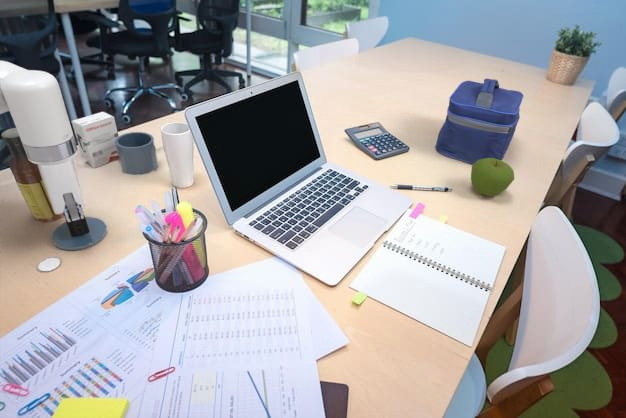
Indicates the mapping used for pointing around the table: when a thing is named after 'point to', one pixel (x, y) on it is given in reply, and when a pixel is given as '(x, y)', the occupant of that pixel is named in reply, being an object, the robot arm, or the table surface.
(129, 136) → the canister
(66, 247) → the canister lid
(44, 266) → the white flat disc
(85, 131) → the ink box
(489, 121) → the lunch bag
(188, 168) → the drinking glass
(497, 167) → the apple
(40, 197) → the sauce bottle
